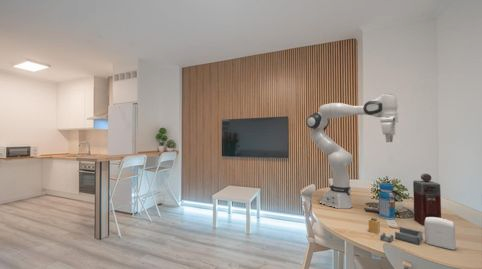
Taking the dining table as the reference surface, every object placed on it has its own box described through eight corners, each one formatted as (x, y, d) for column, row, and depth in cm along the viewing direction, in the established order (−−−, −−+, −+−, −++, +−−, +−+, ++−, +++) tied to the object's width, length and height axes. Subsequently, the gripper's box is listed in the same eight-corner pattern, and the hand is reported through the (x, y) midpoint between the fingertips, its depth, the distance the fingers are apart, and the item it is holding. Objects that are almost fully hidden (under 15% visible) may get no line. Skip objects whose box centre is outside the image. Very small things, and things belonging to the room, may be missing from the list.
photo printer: (424, 243, 101) (423, 216, 101) (425, 240, 104) (424, 214, 104) (456, 251, 94) (455, 222, 94) (455, 247, 97) (454, 219, 97)
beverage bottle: (379, 218, 133) (378, 185, 133) (378, 214, 140) (377, 182, 141) (396, 220, 129) (395, 186, 130) (394, 216, 137) (393, 183, 137)
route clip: (380, 240, 105) (380, 235, 105) (383, 236, 108) (383, 232, 108) (390, 242, 102) (390, 238, 102) (393, 239, 105) (393, 235, 105)
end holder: (395, 238, 106) (395, 232, 106) (400, 232, 113) (399, 226, 113) (419, 245, 99) (418, 238, 99) (422, 238, 106) (422, 231, 106)
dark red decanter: (425, 227, 119) (423, 175, 120) (413, 219, 130) (412, 172, 131) (444, 228, 117) (443, 175, 118) (431, 220, 128) (430, 172, 129)
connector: (368, 231, 114) (368, 218, 114) (371, 229, 117) (370, 217, 117) (377, 234, 111) (377, 220, 111) (379, 231, 114) (379, 218, 114)
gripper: (386, 121, 146) (386, 141, 146) (379, 119, 131) (380, 142, 131) (397, 120, 142) (398, 141, 141) (392, 118, 127) (393, 142, 126)
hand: (389, 142), depth 136 cm, fingers open, 8 cm apart
